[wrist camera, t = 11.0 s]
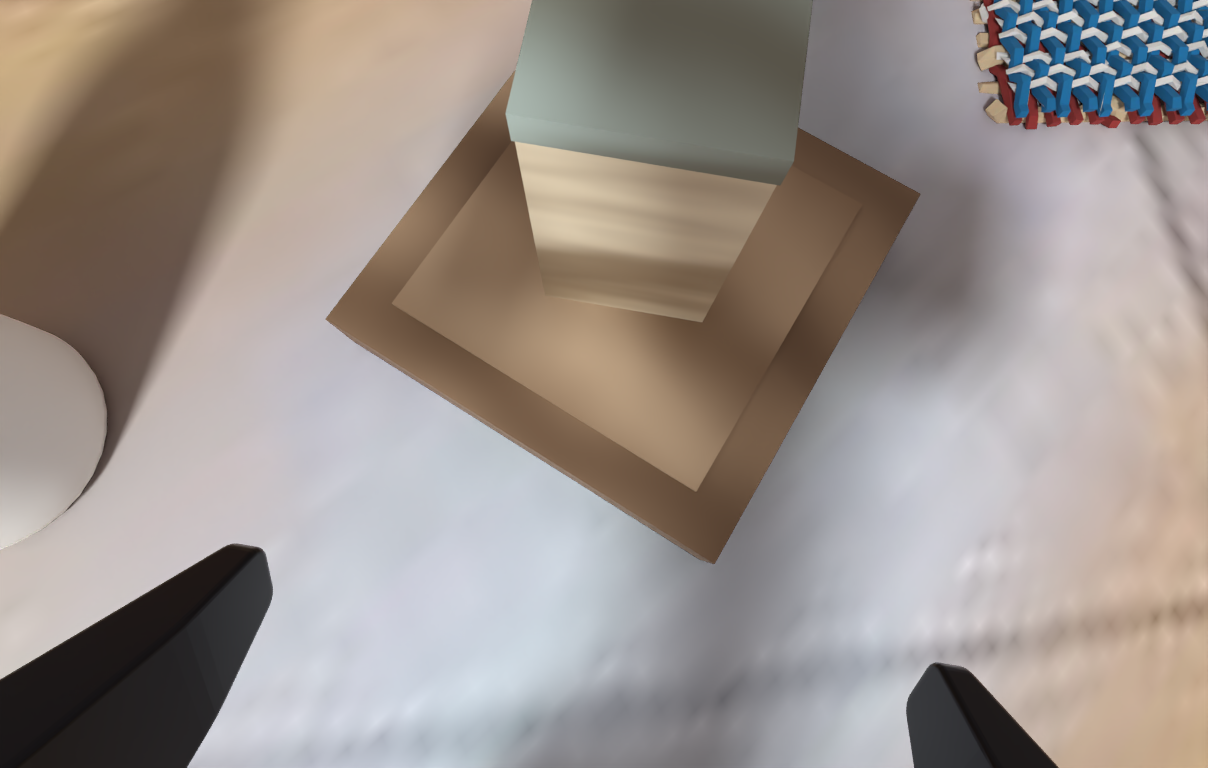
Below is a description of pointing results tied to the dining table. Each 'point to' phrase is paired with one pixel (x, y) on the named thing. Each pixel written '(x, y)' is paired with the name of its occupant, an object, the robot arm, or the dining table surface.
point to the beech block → (653, 141)
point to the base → (626, 332)
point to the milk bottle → (44, 428)
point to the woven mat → (1095, 61)
